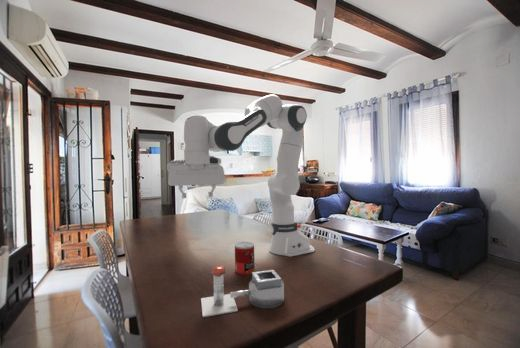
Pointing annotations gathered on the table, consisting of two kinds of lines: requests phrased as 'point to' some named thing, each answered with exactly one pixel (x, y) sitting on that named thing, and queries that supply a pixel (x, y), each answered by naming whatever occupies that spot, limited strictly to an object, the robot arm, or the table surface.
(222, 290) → the red capped grey cylinder
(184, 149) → the robot arm
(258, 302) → the square socket stand
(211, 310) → the rubber mat
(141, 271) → the table surface
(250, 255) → the canned food
